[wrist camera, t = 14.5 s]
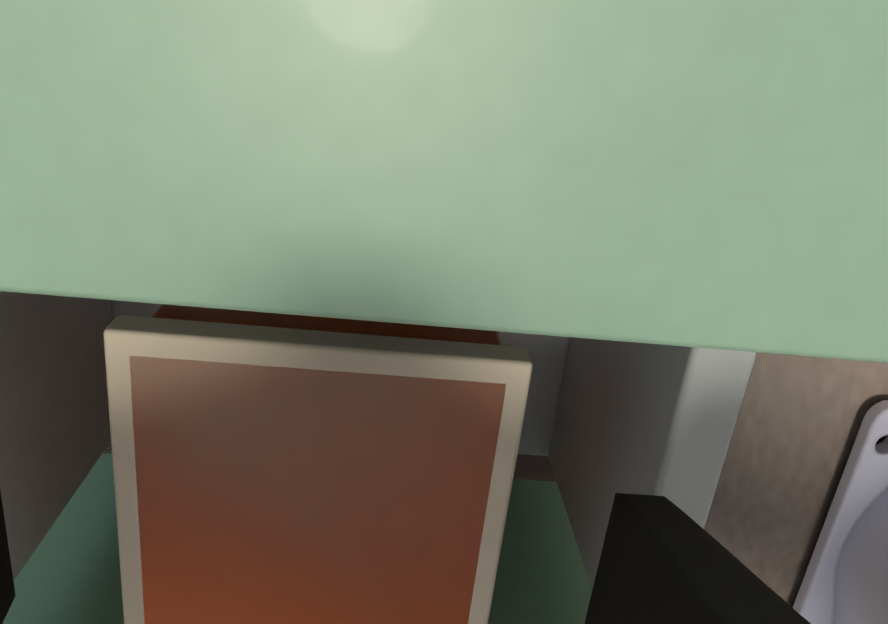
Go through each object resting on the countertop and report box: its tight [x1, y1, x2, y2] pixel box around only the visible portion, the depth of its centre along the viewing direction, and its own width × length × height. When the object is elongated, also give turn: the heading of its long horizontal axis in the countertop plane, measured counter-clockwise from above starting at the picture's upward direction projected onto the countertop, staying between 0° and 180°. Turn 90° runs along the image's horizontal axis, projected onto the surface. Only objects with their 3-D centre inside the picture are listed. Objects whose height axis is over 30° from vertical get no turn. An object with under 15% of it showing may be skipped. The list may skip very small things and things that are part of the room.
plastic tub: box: [103, 304, 533, 624], centre depth 11 cm, size 5×5×5 cm
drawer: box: [0, 291, 757, 624], centre depth 12 cm, size 17×11×6 cm, turn 174°
